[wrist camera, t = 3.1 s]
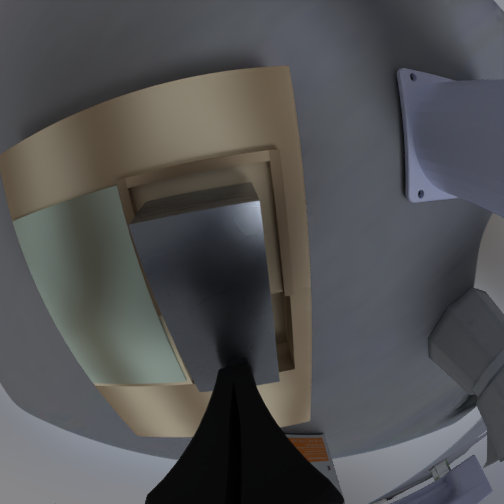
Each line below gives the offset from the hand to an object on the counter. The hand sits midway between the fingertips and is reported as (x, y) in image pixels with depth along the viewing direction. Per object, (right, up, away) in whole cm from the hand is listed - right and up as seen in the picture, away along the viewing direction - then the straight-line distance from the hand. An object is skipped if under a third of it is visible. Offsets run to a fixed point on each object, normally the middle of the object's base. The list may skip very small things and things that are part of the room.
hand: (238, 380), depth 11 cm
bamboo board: (-4, +3, +4) cm, 6 cm away
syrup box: (+72, -76, +47) cm, 115 cm away
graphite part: (-1, +4, +1) cm, 4 cm away
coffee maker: (+21, 0, +9) cm, 23 cm away
